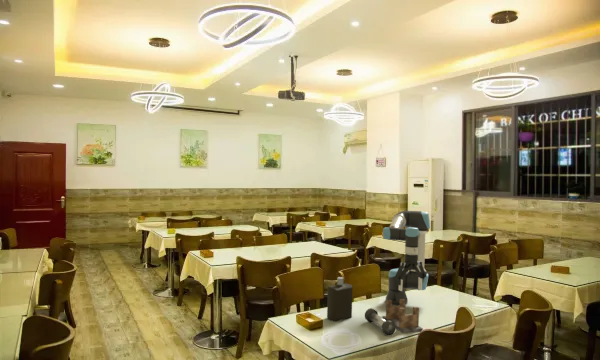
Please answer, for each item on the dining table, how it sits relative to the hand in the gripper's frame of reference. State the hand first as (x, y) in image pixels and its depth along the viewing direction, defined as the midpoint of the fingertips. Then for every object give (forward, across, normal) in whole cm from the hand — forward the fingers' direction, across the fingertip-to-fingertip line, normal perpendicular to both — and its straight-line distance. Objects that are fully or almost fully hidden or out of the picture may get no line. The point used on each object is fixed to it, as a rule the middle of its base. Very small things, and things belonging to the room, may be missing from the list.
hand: (410, 289), depth 248 cm
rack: (+22, -2, +5) cm, 23 cm away
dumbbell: (+18, -18, +4) cm, 26 cm away
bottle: (+22, -33, +26) cm, 48 cm away
